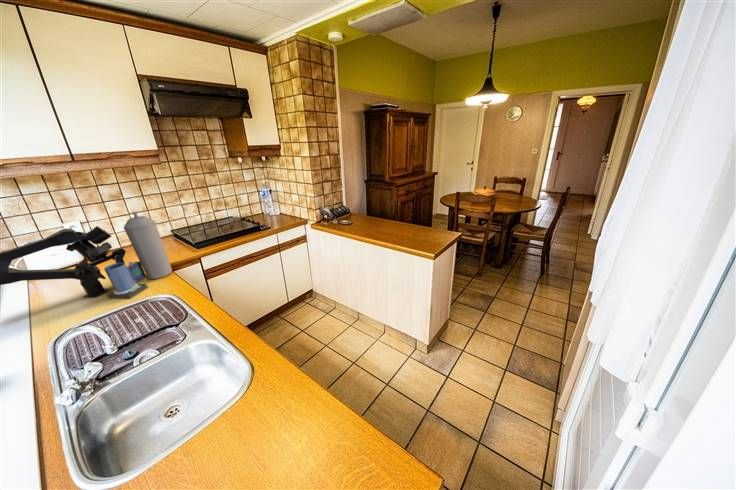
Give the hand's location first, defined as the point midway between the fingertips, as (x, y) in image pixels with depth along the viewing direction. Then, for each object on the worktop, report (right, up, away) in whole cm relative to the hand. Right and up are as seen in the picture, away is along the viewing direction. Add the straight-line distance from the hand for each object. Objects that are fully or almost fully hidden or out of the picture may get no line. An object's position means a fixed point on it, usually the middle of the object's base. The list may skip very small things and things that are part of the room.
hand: (116, 273), depth 123 cm
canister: (+5, -3, +20) cm, 21 cm away
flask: (-4, -5, +16) cm, 17 cm away
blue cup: (+1, -7, +3) cm, 8 cm away
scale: (+2, -10, +4) cm, 11 cm away
